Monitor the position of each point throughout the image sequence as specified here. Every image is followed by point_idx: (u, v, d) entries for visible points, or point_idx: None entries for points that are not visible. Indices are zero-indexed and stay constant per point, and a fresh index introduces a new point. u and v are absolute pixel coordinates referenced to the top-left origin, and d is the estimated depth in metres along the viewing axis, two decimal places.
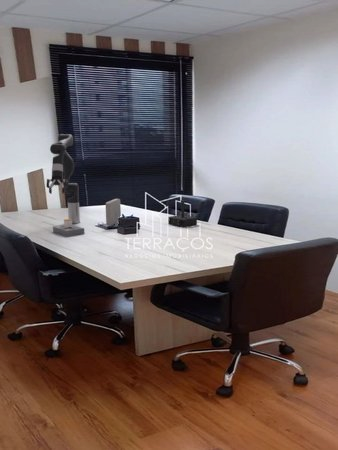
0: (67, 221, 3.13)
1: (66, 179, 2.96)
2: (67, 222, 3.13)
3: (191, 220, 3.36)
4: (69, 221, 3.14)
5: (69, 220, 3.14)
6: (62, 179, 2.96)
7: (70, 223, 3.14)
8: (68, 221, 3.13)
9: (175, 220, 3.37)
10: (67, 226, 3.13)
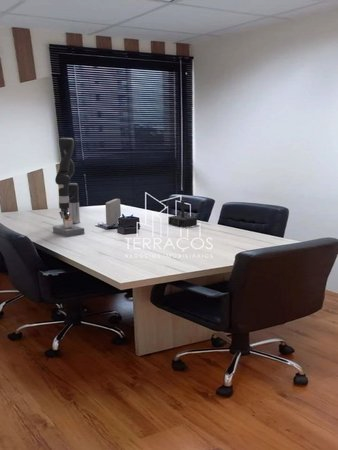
0: (67, 221, 3.12)
1: (67, 214, 3.11)
2: (67, 222, 3.12)
3: (191, 220, 3.36)
4: (70, 221, 3.14)
5: (69, 220, 3.13)
6: (65, 211, 3.13)
7: (70, 223, 3.14)
8: (68, 221, 3.13)
9: (175, 220, 3.37)
10: (67, 226, 3.13)
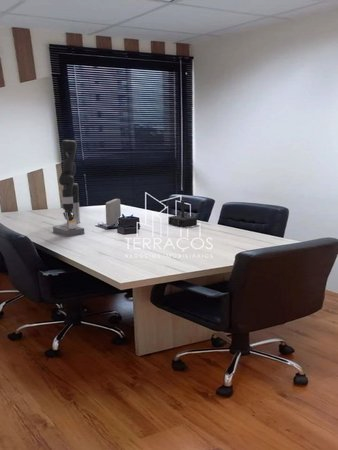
0: (71, 222, 3.08)
1: (71, 215, 3.07)
2: (71, 223, 3.08)
3: (191, 220, 3.36)
4: (74, 222, 3.09)
5: (73, 221, 3.09)
6: (69, 212, 3.08)
7: (74, 224, 3.10)
8: (72, 222, 3.08)
9: (175, 220, 3.37)
10: (71, 227, 3.08)
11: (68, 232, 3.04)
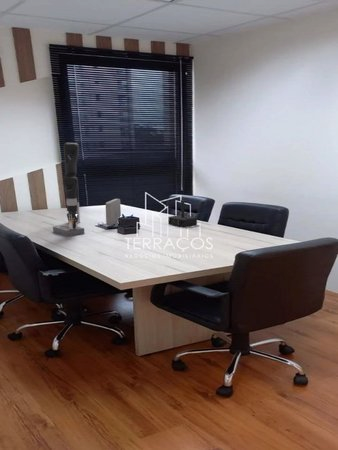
0: (72, 222, 3.07)
1: (75, 216, 3.03)
2: (72, 223, 3.07)
3: (191, 220, 3.36)
4: None
5: None
6: (73, 214, 3.04)
7: None
8: None
9: (175, 220, 3.37)
10: (72, 227, 3.08)
11: (68, 232, 3.04)
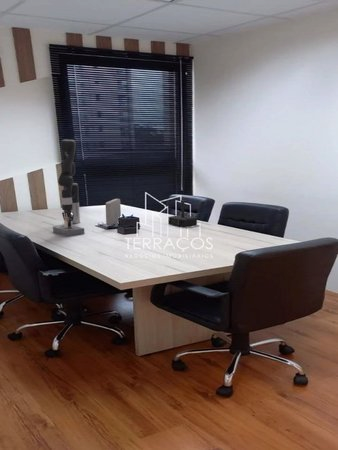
0: (67, 221, 3.12)
1: (70, 215, 3.08)
2: (67, 222, 3.13)
3: (191, 220, 3.36)
4: None
5: None
6: (69, 213, 3.10)
7: None
8: None
9: (175, 220, 3.37)
10: (67, 226, 3.13)
11: (68, 232, 3.04)
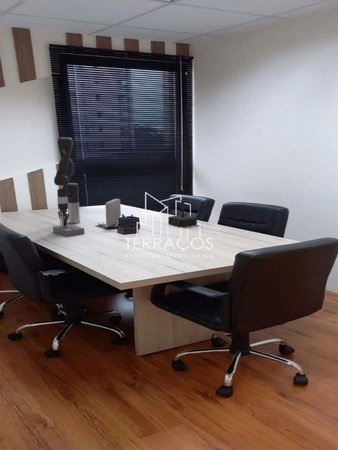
0: (63, 220, 3.17)
1: (66, 214, 3.13)
2: (63, 221, 3.17)
3: (191, 220, 3.36)
4: None
5: None
6: (64, 212, 3.15)
7: None
8: None
9: (175, 220, 3.37)
10: (63, 225, 3.18)
11: (68, 232, 3.04)
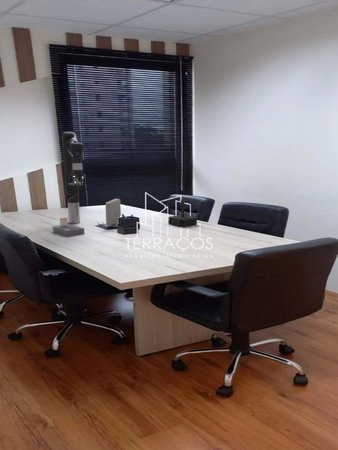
0: (63, 220, 3.17)
1: (81, 178, 3.21)
2: (63, 221, 3.18)
3: (191, 220, 3.36)
4: (65, 220, 3.19)
5: (65, 219, 3.18)
6: (79, 177, 3.23)
7: (66, 222, 3.19)
8: (64, 220, 3.18)
9: (175, 220, 3.37)
10: (63, 225, 3.18)
11: (68, 232, 3.04)
